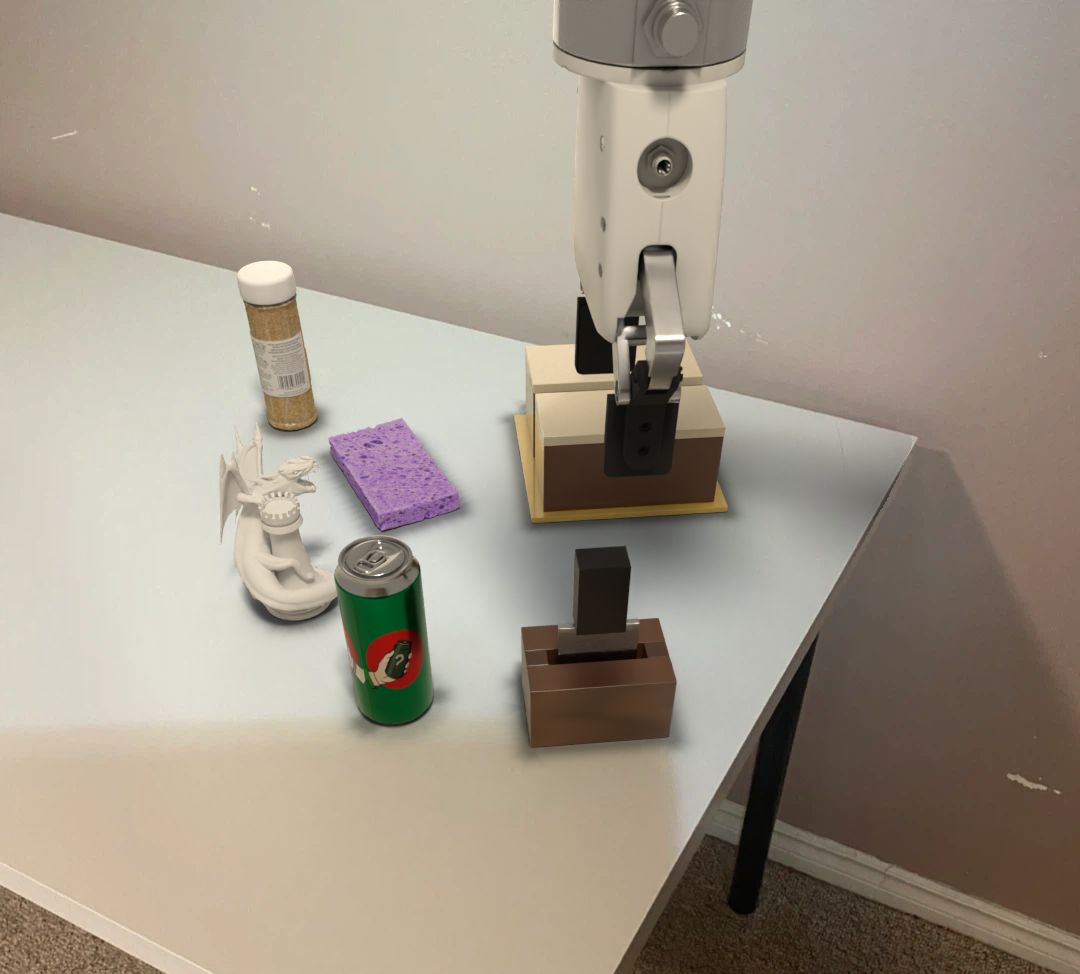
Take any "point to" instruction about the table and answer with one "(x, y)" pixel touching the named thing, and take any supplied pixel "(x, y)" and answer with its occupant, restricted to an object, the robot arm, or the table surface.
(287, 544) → the figurine
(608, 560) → the knife
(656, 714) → the knife stand
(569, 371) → the cake
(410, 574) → the soda can
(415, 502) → the sponge
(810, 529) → the table surface
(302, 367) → the spice jar
